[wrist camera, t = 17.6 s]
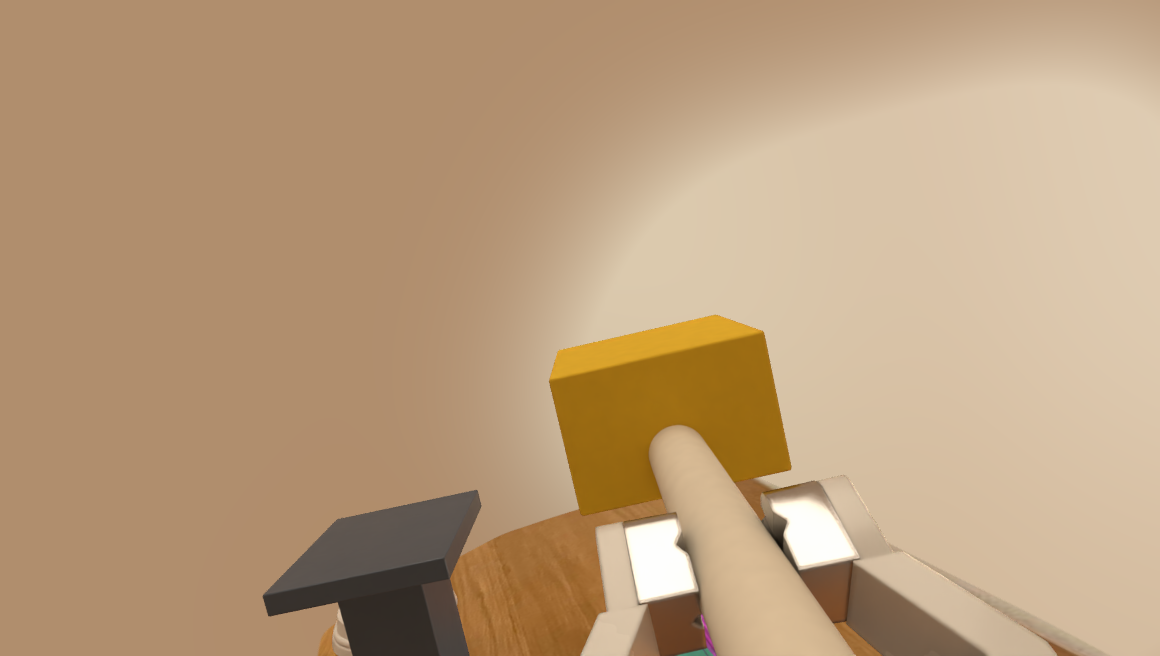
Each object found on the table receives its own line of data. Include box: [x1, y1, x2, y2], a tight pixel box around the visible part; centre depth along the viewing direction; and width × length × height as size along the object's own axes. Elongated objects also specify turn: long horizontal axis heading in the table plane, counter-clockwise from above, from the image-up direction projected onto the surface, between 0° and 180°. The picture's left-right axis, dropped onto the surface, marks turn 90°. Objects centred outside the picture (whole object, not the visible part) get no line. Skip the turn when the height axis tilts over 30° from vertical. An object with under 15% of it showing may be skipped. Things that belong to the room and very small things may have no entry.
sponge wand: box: [549, 315, 855, 656], centre depth 14 cm, size 19×6×4 cm, turn 0°
